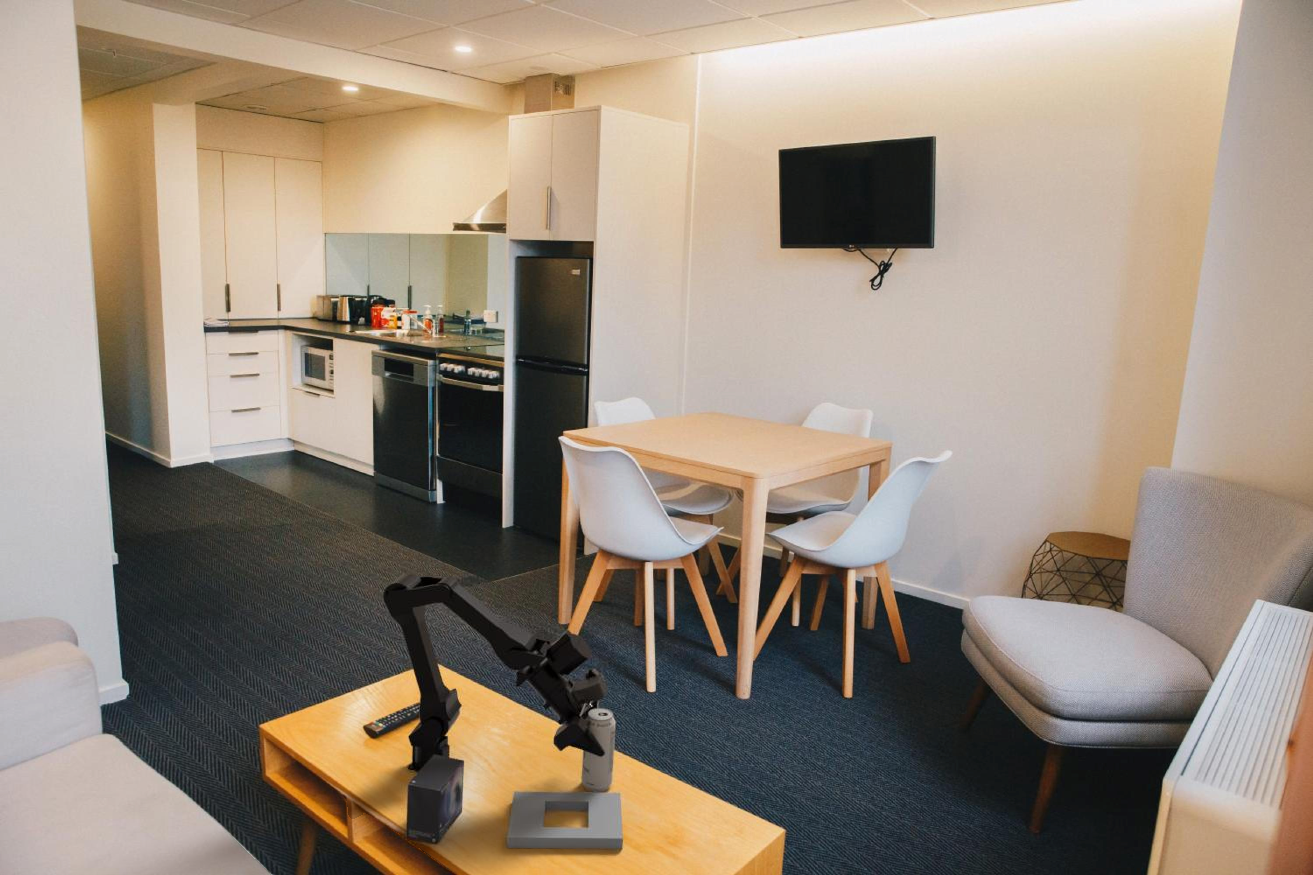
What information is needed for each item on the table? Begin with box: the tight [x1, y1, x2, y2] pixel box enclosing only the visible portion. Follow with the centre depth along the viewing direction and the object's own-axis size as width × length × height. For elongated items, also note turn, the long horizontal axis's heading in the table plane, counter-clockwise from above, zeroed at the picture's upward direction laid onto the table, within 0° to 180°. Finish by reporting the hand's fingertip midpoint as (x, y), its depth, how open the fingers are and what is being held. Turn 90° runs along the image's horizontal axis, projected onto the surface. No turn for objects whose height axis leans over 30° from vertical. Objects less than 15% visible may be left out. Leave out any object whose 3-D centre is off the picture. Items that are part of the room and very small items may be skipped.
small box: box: [405, 755, 465, 845], centre depth 155 cm, size 11×6×10 cm, turn 168°
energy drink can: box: [581, 707, 616, 793], centre depth 170 cm, size 6×6×15 cm
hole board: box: [506, 790, 624, 850], centre depth 158 cm, size 20×14×2 cm
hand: (605, 746), depth 170 cm, fingers closed on energy drink can, 6 cm apart
